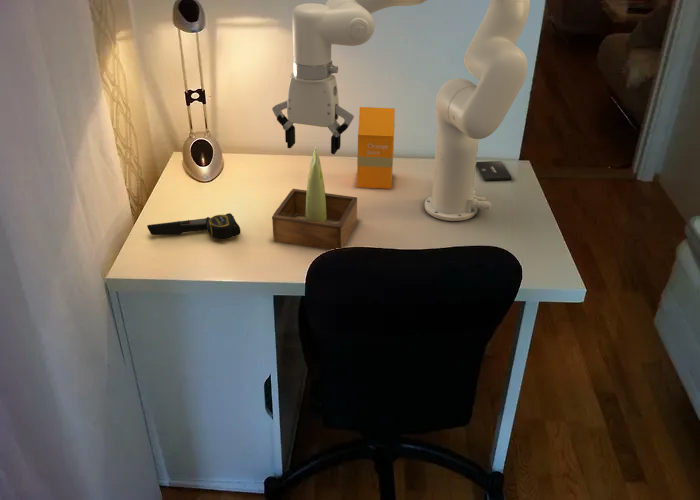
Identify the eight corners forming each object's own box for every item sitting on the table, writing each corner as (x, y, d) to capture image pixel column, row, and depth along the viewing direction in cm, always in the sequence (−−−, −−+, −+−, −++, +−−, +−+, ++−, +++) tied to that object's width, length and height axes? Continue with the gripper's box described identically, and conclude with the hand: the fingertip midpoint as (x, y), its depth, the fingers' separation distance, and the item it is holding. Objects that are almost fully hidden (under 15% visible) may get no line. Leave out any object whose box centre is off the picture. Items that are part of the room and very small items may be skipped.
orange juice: (359, 173, 183) (360, 101, 173) (392, 175, 183) (395, 102, 172) (356, 187, 177) (357, 112, 166) (391, 189, 176) (394, 114, 165)
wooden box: (357, 221, 162) (357, 197, 159) (341, 252, 151) (341, 227, 148) (293, 212, 166) (292, 188, 162) (272, 241, 155) (271, 216, 151)
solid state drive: (485, 180, 180) (485, 178, 180) (475, 164, 189) (476, 161, 188) (511, 179, 181) (512, 177, 180) (500, 163, 189) (501, 160, 189)
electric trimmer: (149, 232, 158) (147, 220, 156) (218, 224, 161) (216, 212, 159) (149, 241, 155) (146, 228, 153) (219, 233, 158) (217, 221, 156)
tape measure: (242, 239, 155) (240, 224, 153) (211, 245, 153) (210, 230, 151) (234, 224, 160) (233, 210, 158) (204, 230, 158) (203, 215, 156)
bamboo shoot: (333, 231, 158) (333, 153, 148) (316, 239, 155) (315, 160, 145) (317, 222, 162) (315, 145, 151) (300, 230, 159) (297, 152, 148)
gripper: (359, 68, 139) (356, 147, 149) (278, 59, 143) (280, 137, 152) (349, 80, 133) (347, 161, 143) (264, 70, 137) (268, 150, 146)
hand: (312, 148), depth 147 cm, fingers open, 9 cm apart
